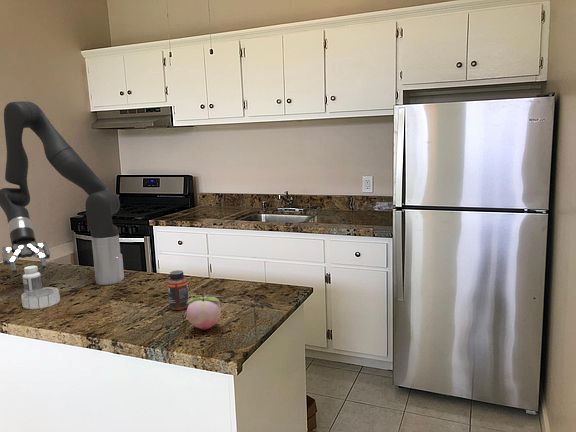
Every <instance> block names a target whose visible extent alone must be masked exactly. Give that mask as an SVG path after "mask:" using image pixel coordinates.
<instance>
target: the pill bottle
mask: <svg viewBox="0 0 576 432" xmlns="http://www.w3.org/2000/svg"><path fill="white" fill-rule="evenodd" d="M38 270H39V269H38V266H37V265H29V266H25V267H24V268H23V272H24V274H22V284H23V291H24V292H27V291H30V290H33V289H38V288H43V283H42V274H41V272H40V271H38ZM24 292H23V293H24Z"/></svg>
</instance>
